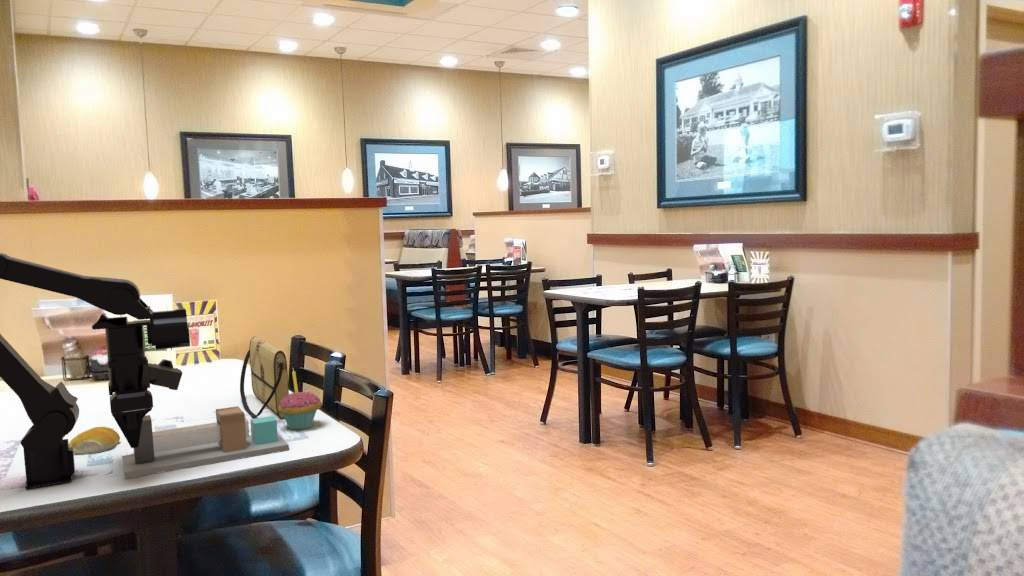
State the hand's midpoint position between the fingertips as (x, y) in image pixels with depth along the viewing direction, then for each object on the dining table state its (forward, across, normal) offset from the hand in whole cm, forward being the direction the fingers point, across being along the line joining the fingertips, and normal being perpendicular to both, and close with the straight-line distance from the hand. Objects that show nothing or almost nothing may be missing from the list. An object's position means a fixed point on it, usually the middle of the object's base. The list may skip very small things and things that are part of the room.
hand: (133, 441), depth 131 cm
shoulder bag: (+5, +31, -27) cm, 42 cm away
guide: (+5, 0, -12) cm, 13 cm away
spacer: (+2, 0, -20) cm, 20 cm away
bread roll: (+5, +19, +6) cm, 20 cm away
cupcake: (+5, +10, -31) cm, 33 cm away
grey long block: (+4, 0, -9) cm, 10 cm away
